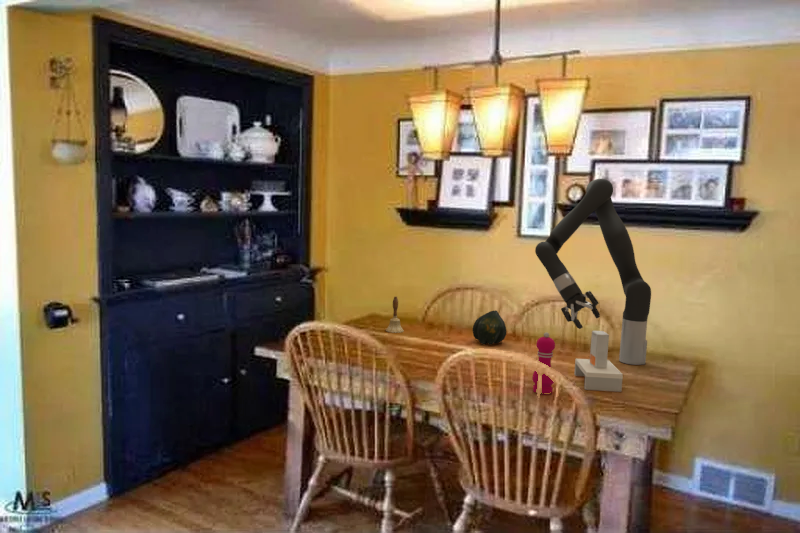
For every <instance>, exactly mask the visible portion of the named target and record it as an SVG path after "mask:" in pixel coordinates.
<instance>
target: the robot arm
mask: <svg viewBox="0 0 800 533" xmlns="http://www.w3.org/2000/svg"><path fill="white" fill-rule="evenodd" d="M585 192H586V193H585V195H584V196H583V197H582V199H581V200H580V201H579V203H577V205H575V207H574V208H573V209H572V210H570V211H569V212H568V213H567V214H566V215H565V216H564V217H563V218H562V219H561V220H560V221H559V222H558V223H557V224H556V225H555V226H554V227H553V229H552V230H551V232H550V234H549V236H548V237H547V238H546V240H545V241H540V242H538V243H537V244H536V246H535V247H534V248H535V250H534V253H535V254H536V256H537V259H538V260H539V261H540V263H541V264H542V266H543V267H544V268H545V270H546V272H547V274H548V276H549V278H550V279H551V281H552V282H553V284H554V286H555V288H556V290H557V292H558V293H559V295H560V297H561V298H562V300H563V302H565V303H566V306H564V307H561V309H560V310H561V312H562V314H563V315H564V318H565V320H566V321H567V322H568V323H569V322H570V323H571V322H572V323H573V324H574V325H575V327H576V328H577V329H579V330H581V329H583V325H582V323H581V322H580V320H579V319H578V313H579V312H580V311H581V310H582V309H585V308H588V309H589V310H590V311H591V313H592V314H593V316H594V318H596V319H599V318H600V317H601V314H600V312H599V309H597V306H598V305H599V301H598V299H597V298H596V297H595V296H594V294H593V293H592V291H591V290H587V291H585V293H583V292H582V289H581V288H580V287H579V285H578V283H577V282H576V280H575V278H574V277H573V276H572V274H571V273H570V272H569V270H568V269H567V267H566V265H565V264H564V262H562V261H561V259H560V257H559V256H558V253H559V251H561V249H562V247H563V246H564V245H565V243H566V242H567V241H568V240H569V239H570V238H571V237H572V236H573V234H575V232H577V230H578V229H579V228H580V226H581V225H582V224H583V223H584V222H585V221H586V220H587V219H588V217H589V216H591V215H592V213H595V215H596V217H597V220H598V224H599V227H600V230H601V234H602V236H603V240H604V243H605V245H606V247H607V250H608V252H609V255H610V257H611V259H612V261H613V264H614V266H615V267H616V269H617V272H618V275H619V278H620V282H621V286H622V291H623V293H624V296H625V301H624V310H623V311H622V319H621V320H622V321H621V332H620V344H619V345H620V346H619V356H618V357H619V359H618V360H619V362H621V363H623V364H627V365H639V366H640V365H646V359H647V349H648V340H647V339H646V337H647V328H648V318H649V314H650V309H651V302H652V301H651V300H652V299H651V298H652V288H651V286H650V285H649V283H648V282H646V281H645V280H644V279H643V277H642V274H641V273H640V270H639V268H638V265H637V262H636V256H635V251H634V244H633V243H632V239H631V237H630V233H629V231H628V230H627V227H626V225H625V224H624V222H623V220H622V219H621V218H620V216H619V215H618V213H617V211H616V209H615V206H614V203H613V200H612V195H613V194H614V186H613V184H612V182H611V181H610V180H608V179H606V178H596V179H593V180H591V181H590V182H589V183H587V185H586V190H585ZM587 299H588V300H589V301H590V302H589V301H587Z"/></svg>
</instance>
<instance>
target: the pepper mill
mask: <svg viewBox="0 0 800 533" xmlns="http://www.w3.org/2000/svg"><path fill="white" fill-rule="evenodd" d="M555 347H556V343H555V340H554V339H553V338H551V337H550V333H549V332H548V331H547V332H544V333H543V336H541V337H539V338H538V339H537V341H536V349H537V353H536V355H537V356H538V361H540V362H542V363H544V364H546V365H548V366H549V367H551V368H552V358H553V357H554V355H553V354H554V352H553V351H554V350H555ZM537 381H538V374H537V372H536V371H535V370H534V371H533V374H532V382H533V383H534V384H533V386H532V391H533V392H534V393H535V392H536V389H537ZM554 383H555V381H554V382H553V381H552V380H551V379H550V378H549V377H548V376H546V375H545V374H543V375H542V393H543V394H542V395H545V394H544V393H550V392H552V393H553V389H554V388H553V386H552V385H554Z"/></svg>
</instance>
